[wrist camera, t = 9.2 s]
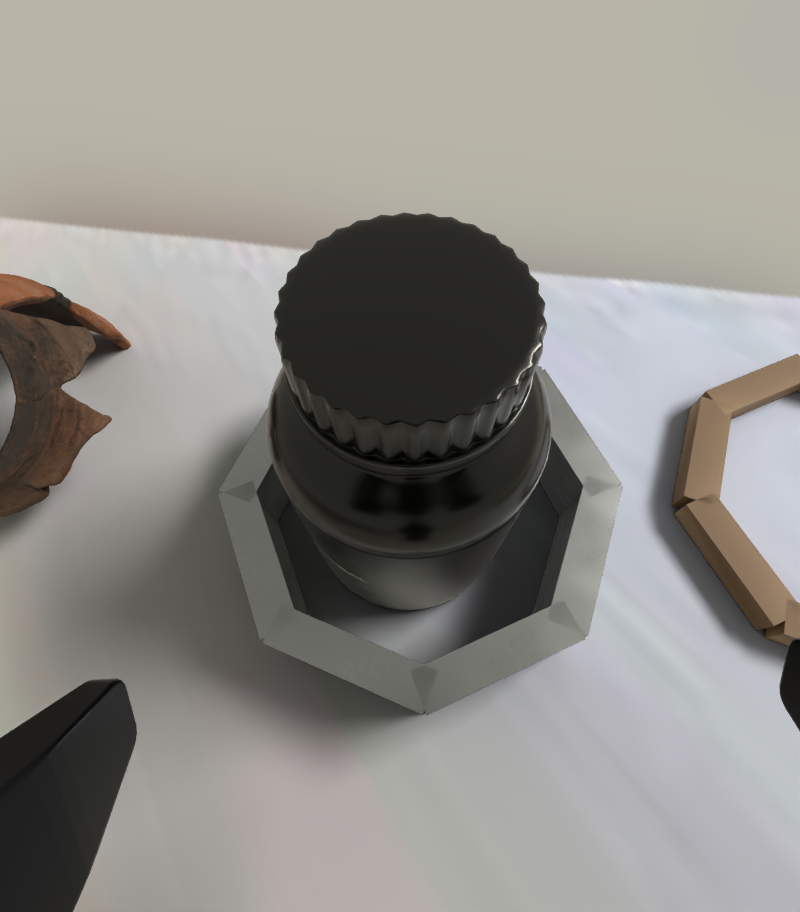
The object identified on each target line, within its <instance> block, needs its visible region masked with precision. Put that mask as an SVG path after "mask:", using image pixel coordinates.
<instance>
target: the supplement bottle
mask: <svg viewBox="0 0 800 912" xmlns="http://www.w3.org/2000/svg"><path fill="white" fill-rule="evenodd" d="M538 291H539V283H538V282H537V281H536V280H535V279H534V278H533V277H532V276H531V275H530V273H529V268H528V265H527V264H526V263H524V262H523V261H521V260H520V259H518V258H517V256H516V254H515V252H514V250H513V249H512V248H510V247H508V246H506V245H504V244H502V243H501V242H500V241H499V240H498V239H497V237H496V236H495V235H492V234H489V233H485V232H483V231H481V230H480V229H479V228H478V227H477V226H475V225H473V224H466V223H461V222H459V221H458V220H456V219H454V218H452V217H437V216H435V215H432V214H429V213H428V214H420V215H414V214H410V213H402V214H397V215H394V216H388V215H380V216H378V217H375V218H373V219H371V220H360V221H357V222H355V223H354V224H352V225H351V226H349V227H345V228H340V229H337V230H335V231H334V232H333V233H332V234H331V235H330V236H329V237H327V238H324V239H321V240H319V241H317V242H316V244H315V245H314V246H313V248H312V250H310V251H308V252H306V253H304V254H303V255H301V256H300V258H299V261H298V264H297V265H296V266H295V267H294V268H293V269H291V270H290V271H289V272H288V273H287V280H286V284H285V285H284V286H283V287H282V288H281V289H280V290H279V292H278V294H279V304H278V306H277V307H276V309H275V311H274V318H275V322H276V325H277V327H276V331H275V340H276V344H277V347H278V349H279V352H280V355H281V360H282V364H283V366H282V368H281V370H280V372H279V374H278V376H277V379H276V381H275V384H274V386H273V389H272V393H271V396H270V400H269V405H268V412H267V442H268V448H269V453H270V457H271V460H272V463H273V466H274V469H275V471H276V474H277V476H278V478H279V481H280V483H281V485H282V487H283V489H284V491H285V493H286V494H287V496H288V498H289V499H290V501H291V503H292V505H293V506H294V508H295V510H296V512H297V513H298V515H299V517H300V518H301V520H302V522H303V524H304V525H305V527H306V529H307V530H308V532H309V534H310V536H311V537H312V539H313V541H314V542H315V544H316V546H317V548H318V549H319V551H320V553H321V554H322V556H323V558H324V559H325V561H326V563H327V564H328V566H329V567H330V569H331V570H332V571H333V573H334V574H335V575H336V577H337V578H338V579H339V580H340V581H341V582H342V583H343V584H344V585H345V586H346V587H347V588H348V589H350V590H351V591H352V592H354V593H355V594H357V595H358V596H360V597H361V598H363V599H365V600H367V601H369V602H371V603H374V604H376V605H379V606H382V607H386V608H391V609H398V610H418V609H425V608H430V607H434V606H437V605H440V604H443V603H445V602H447V601H449V600H451V599H453V598H455V597H457V596H458V595H460V594H461V593H463V592H464V591H465V590H467V589H468V588H469V587H470V586H471V585H472V584H473V583H474V582H475V581H476V580H477V579H478V578H479V577H480V576H481V574H482V573H483V572H484V571H485V569H486V568H487V566H488V565H489V563H490V562H491V560H492V559H493V557H494V555H495V554H496V552H497V550H498V549H499V547H500V546H501V544H502V542H503V541H504V539H505V537H506V536H507V534H508V533H509V531H510V529H511V528H512V526H513V524H514V523H515V521H516V520H517V518H518V516H519V515H520V513H521V511H522V510H523V508H524V507H525V505H526V503H527V502H528V500H529V498H530V497H531V495H532V493H533V492H534V490H535V488H536V486H537V484H538V482H539V480H540V477H541V475H542V473H543V470H544V468H545V465H546V462H547V459H548V455H549V450H550V446H551V437H552V416H551V408H550V403H549V398H548V394H547V391H546V388H545V385H544V382H543V380H542V378H541V376H540V374H539V371H538V369H537V365H538V362H539V360H540V357H541V354H542V350H543V342H542V341H543V338H544V336H545V333H546V328H547V324H546V321H545V318H544V316H543V314H544V310H545V302H544V300H543V299H542V297H541V296H540V295H539V293H538Z"/></svg>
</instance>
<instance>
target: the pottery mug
mask: <svg viewBox="0 0 800 912" xmlns="http://www.w3.org/2000/svg"><path fill="white" fill-rule="evenodd" d="M89 330H90V331H93V332H96V333H98V334H100V335H102V336H105V337H107V338H108V339H110V340H111V341H113V342H114V343H115V344H117V345H118V346H119V347H121V348H122V349H128V348H129V347H130V346H131V345H130V342H129V341H128V340H127V339H126V338H124V336H123V335H122V334H121V333H120V332H119V331H118V330H117V329H116V328H115V327H114V326H113V325H112V324H111V323H110V322H108V321H107V320H106V319H105V318H103V317H101V316H99V315H97V314H96V313H94V312H93V311H91V310H89V309H88V308H85V307H83V306H80V305H78V304H76V303H73V302H71V301H70V300H69V299H68V298H65V297H64V296H63V294H62V293H60V292H57V290H56V289H54V288H52V287H49V286H46V285H42V284H40V283H38V282H36V281H33V280H30V279H27V278H23V277H20V276H16V275H9V274H0V353H1V355H2V357H3V359H4V361H5V362H6V364H7V366H8V369H9V371H10V374H11V378H12V380H13V384H14V390H15V394H16V404H15V412H14V417H13V420H12V425H11V428H10V432H9V434H8V436H7V439H6V441H5V443H4V445H3V446H2V448H1V450H0V517H5V516H8V515H11V514H14V513H16V512H19V511H22V510H24V509H26V508H27V507H29V506H32V505H34V504H36V503H38V502H41V501H42V500H44V499H45V498H46V497H47V496H48V495H49V492H50V490H49V486H52V485H57V484H59V483H61V482H62V481H63V479H64V478H65V477H66V475H67V474H68V472H69V471H70V469H71V466H72V463H73V461H74V460H75V458H76V457H77V455H78V453H79V451H80V449H81V448H82V447H83V446H84V444H85V443H86V442H87V441H88V440H89V439H90V438H91V437H92V436H93V435H94V434H96V433H98V432H100V431H101V430H102V429H103V428H105V427H106V426H107V424H108V423H109V422H111V420H112V418H111V417H110V416H107V415H102V414H100V413H99V412H97V411H95V410H93V409H91V408H90V407H89V406H87V405H85V404H83V403H81V402H79V401H77V400H76V399H75V398H73V397H71V396H70V395H68V394H67V393H65V392H64V391H63V390H62V389H61V386H62V385H63V384H64V383H66V382H68V381H71V380H73V379H75V378H76V377H77V376H78V375H79V374H80V372H81V370H82V369H83V367H84V365H85V362H86V359H87V357H88V356H89V355H90V354H91V353H93V352H94V350H95V349H96V344H95V341H94V339H93V337H92V334H91V332H90V331H89Z"/></svg>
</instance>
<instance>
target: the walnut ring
mask: <svg viewBox="0 0 800 912" xmlns="http://www.w3.org/2000/svg"><path fill="white" fill-rule="evenodd" d="M794 392H799V393H800V356H799V355H798V354H795V355H793V356H790V357H788V358H785V359H783V360H781V361H778V362H776V363H773V364H771V365H769V366H766V367H764V368H761V369H759V370H756V371H754V372H752V373H749V374H747V375H744V376H742V377H739V378H737V379H735V380H732V381H730V382H727V383H725V384H722V385H720V386H718V387H715V388H713V389H710V390H708V391H706V392H705V393H704V394H703V395H702V396H701V397H700V398H699V399H698V400H697V402H696V403H695V404H694V405H693V406H692V407H691V408H690V409H689V415H688V420H687V426H686V431H685V436H684V442H683V447H682V453H681V458H680V463H679V469H678V474H677V480H676V485H675V490H674V496H673V501H672V506H675V507H678V508H681V509H680V510H679V511H677V512H676V513H675V514H674V515H675V516H676V517H677V519H678V520H679V522H680V523H681V525H682V526H683V527H684V529H685V530H686V532H687V533H688V535H689V536H690V537H691V539H692V540H693V542H694V543H695V544H696V546H697V547H698V549H699V550H700V552H701V553H702V554H703V556H704V557H705V559H706V560H707V562H708V563H709V564H710V566H711V567H712V569H713V570H714V571H715V573H716V574H717V576H718V577H719V579H720V580H721V581H722V583H723V584H724V586H725V587H726V588H727V590H728V591H729V593H730V594H731V596H732V597H733V598H734V600H735V601H736V603H737V604H738V606H739V607H740V608H741V610H742V611H743V613H744V614H745V615H746V617H747V618H748V620H749V621H750V623H751V624H752V625H753V627H754V628H755V630H759V629H764V628H766V636H765V638H768V639H770V640H773V641H776V642H778V643H781V644H784V645H787V646H788V645H789V644H790V642H791V641H792V640H793V639H796V638H800V603H798V602H796V600H795V599H794V598H793V596H792V595H791V594H790V592H789V591H788V590H787V588H786V587H785V586H784V584H783V583H782V582H781V580H780V579H779V578H778V576H777V575H776V574H775V572H774V571H773V570H772V569H771V567H770V566H769V565H768V563H767V562H766V561H765V559H764V558H763V557H762V555H761V554H760V553H759V551H758V550H757V549H756V547H755V546H754V545H753V543H752V542H751V541H750V539H749V538H748V537H747V535H746V534H745V533H744V532H743V530H742V529H741V528H740V526H739V525H738V524H737V522H736V521H735V520H734V518H733V517H732V516H731V514H730V513H729V512H728V510H727V509H726V508H725V506H724V505H723V504H722V502H721V501H720V500H719V498H720V491H721V484H722V477H723V470H724V463H725V456H726V449H727V442H728V435H729V428H730V421H731V419H733V418H735V417H737V416H740V415H742V414H744V413H747V412H749V411H751V410H754V409H756V408H758V407H761V406H763V405H765V404H768V403H770V402H772V401H775V400H777V399H779V398H782V397H784V396H787V395H789V394H791V393H794Z"/></svg>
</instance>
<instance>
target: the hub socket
mask: <svg viewBox="0 0 800 912" xmlns="http://www.w3.org/2000/svg"><path fill="white" fill-rule="evenodd" d="M537 369H538V371H539V374H540V376H541V378H542V380H543V382H544V385H545V388H546V391H547V394H548V398H549V403H550V408H551V416H552V437H551V446H550V450H549V455H548V459H547V462H546V465H545V468H544V470H543V473H542V475H541V477H540V480H539V482H540V484H541V486H542V487H543V489H544V491H545V492H546V494H547V496H548V497H549V499H550V501H551V502H552V504H553V506H554V507H555V509H556V511H557V512H558V514H559V516H560V518H559V522H558V525H557V529H556V532H555V536H554V539H553V543H552V547H551V550H550V554H549V557H548V561H547V564H546V568H545V571H544V575H543V579H542V582H541V586H540V589H539V593H538V596H537V600H536V603H535V607H534V610H533V614H532V615H530V616H528V617H526V618H524V619H522V620H519V621H517V622H515V623H513V624H511V625H509V626H506V627H504V628H502V629H500V630H498V631H496V632H494V633H491V634H489V635H487V636H485V637H483V638H481V639H478V640H476V641H474V642H472V643H470V644H468V645H465V646H463V647H461V648H459V649H457V650H455V651H453V652H450V653H448V654H446V655H444V656H442V657H440V658H437V659H435V660H433V661H431V662H429V663H427V664H424V665H423V664H421V663H418V662H416V661H414V660H411V659H409V658H407V657H404V656H402V655H400V654H397V653H395V652H393V651H390V650H388V649H386V648H383V647H381V646H379V645H376V644H374V643H372V642H369V641H367V640H365V639H362V638H360V637H358V636H355V635H353V634H351V633H348V632H346V631H344V630H341V629H339V628H337V627H334V626H332V625H330V624H327V623H325V622H323V621H320V620H318V619H316V618H313V617H311V616H309V614H308V611H307V608H306V605H305V602H304V599H303V596H302V593H301V590H300V587H299V584H298V581H297V578H296V575H295V572H294V569H293V566H292V563H291V560H290V557H289V554H288V551H287V548H286V545H285V542H284V539H283V536H282V533H281V530H280V527H279V524H278V519H279V517H280V515H281V514H282V512H283V510H284V508H285V506H286V504H287V502H288V500H289V498H288V496H287V494H286V493H285V491H284V489H283V487H282V485H281V483H280V481H279V478H278V476H277V474H276V471H275V469H274V466H273V463H272V460H271V457H270V453H269V448H268V442H267V412H268V408H267V410H266V412H265V413H264V415H263V417H262V418H261V420H260V422H259V423H258V425H257V427H256V428H255V430H254V432H253V433H252V435H251V437H250V438H249V440H248V442H247V443H246V445H245V447H244V449H243V450H242V452H241V454H240V455H239V457H238V459H237V460H236V462H235V464H234V465H233V467H232V469H231V470H230V472H229V474H228V475H227V477H226V479H225V480H224V482H223V484H222V485H221V487H220V489H219V490H218V491H219V492H220V493H219V494H218V496H219V500H220V503H221V507H222V510H223V514H224V517H225V521H226V524H227V528H228V531H229V535H230V538H231V542H232V545H233V549H234V552H235V556H236V559H237V563H238V566H239V569H240V573H241V576H242V580H243V583H244V587H245V590H246V594H247V597H248V601H249V604H250V608H251V611H252V615H253V618H254V622H255V625H256V629H257V632H258V636H259V639H260V640H261V641H263V644H266V645H268V646H270V647H272V648H274V649H277V650H279V651H281V652H283V653H286V654H288V655H290V656H292V657H295V658H297V659H299V660H301V661H304V662H306V663H308V664H310V665H312V666H315V667H317V668H319V669H321V670H324V671H326V672H328V673H330V674H333V675H335V676H337V677H339V678H342V679H344V680H346V681H348V682H350V683H353V684H355V685H357V686H359V687H362V688H364V689H366V690H368V691H371V692H373V693H375V694H377V695H379V696H382V697H384V698H386V699H388V700H391V701H393V702H395V703H397V704H400V705H402V706H404V707H406V708H409V709H411V710H413V711H415V712H417V713H420V714H422V715H423V713H424V712H425V714H427V715H428V714H430V713H432V712H434V711H437V710H439V709H441V708H443V707H445V706H447V705H449V704H451V703H453V702H455V701H457V700H459V699H462V698H464V697H466V696H468V695H470V694H472V693H474V692H476V691H478V690H480V689H482V688H484V687H487V686H489V685H491V684H493V683H495V682H497V681H499V680H501V679H503V678H505V677H507V676H509V675H511V674H514V673H516V672H518V671H520V670H522V669H524V668H526V667H528V666H530V665H532V664H534V663H536V662H539V661H541V660H543V659H545V658H547V657H549V656H551V655H553V654H555V653H557V652H559V651H561V650H564V649H566V648H568V647H570V646H572V645H574V644H576V643H578V642H580V641H582V640H584V639H585V637H586V636H588V634H589V629H590V625H591V621H592V617H593V612H594V608H595V604H596V599H597V595H598V591H599V586H600V582H601V578H602V574H603V569H604V565H605V561H606V556H607V552H608V548H609V543H610V539H611V535H612V531H613V526H614V522H615V518H616V513H617V509H618V505H619V500H620V496H621V492H622V488H623V487H621V486H620V485H621V484H622V483H621V481H620V480H619V478H618V477H617V476H616V474H615V473H614V471H613V470H612V468H611V467H610V465H609V464H608V462H607V461H606V459H605V458H604V456H603V455H602V453H601V452H600V450H599V449H598V447H597V446H596V444H595V443H594V441H593V440H592V438H591V437H590V436H589V434H588V433H587V431H586V430H585V428H584V427H583V425H582V424H581V422H580V421H579V419H578V418H577V416H576V415H575V413H574V412H573V410H572V409H571V407H570V406H569V404H568V403H567V401H566V400H565V398H564V397H563V396H562V394H561V393H560V391H559V390H558V388H557V387H556V385H555V384H554V382H553V381H552V379H551V378H550V376H549V375H548V373H547V372H546V370H545V369H544V370H541V369H542V367H539V366H537Z"/></svg>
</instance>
